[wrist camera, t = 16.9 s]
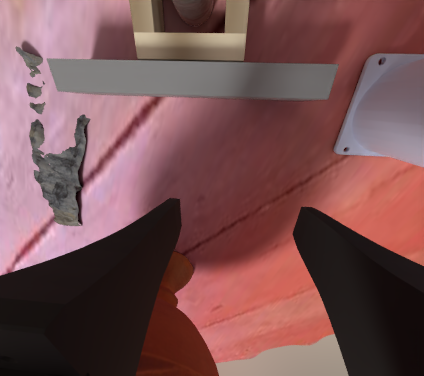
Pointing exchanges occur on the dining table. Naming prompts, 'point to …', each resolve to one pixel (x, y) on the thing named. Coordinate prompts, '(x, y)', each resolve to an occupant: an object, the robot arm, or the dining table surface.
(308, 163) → the dining table surface
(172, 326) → the goblet
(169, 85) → the backstop wall
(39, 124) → the driftwood
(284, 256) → the dining table surface
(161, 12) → the socket block
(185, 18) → the dowel
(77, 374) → the robot arm
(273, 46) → the dining table surface
